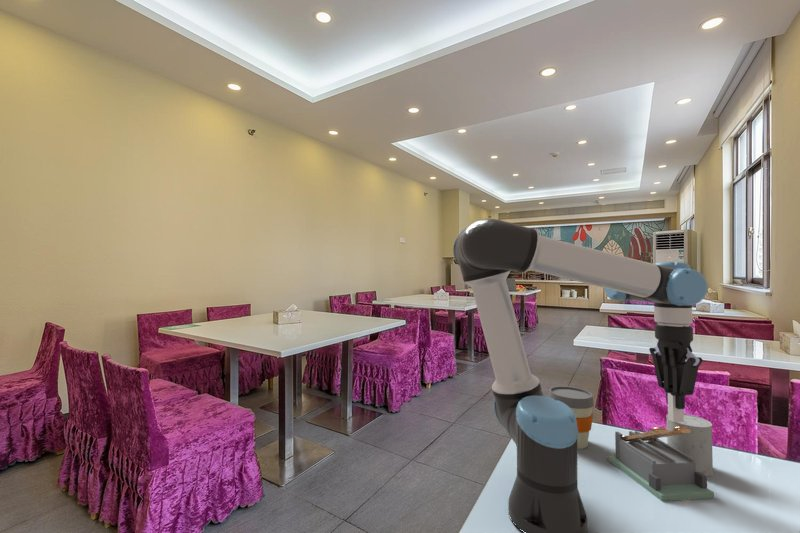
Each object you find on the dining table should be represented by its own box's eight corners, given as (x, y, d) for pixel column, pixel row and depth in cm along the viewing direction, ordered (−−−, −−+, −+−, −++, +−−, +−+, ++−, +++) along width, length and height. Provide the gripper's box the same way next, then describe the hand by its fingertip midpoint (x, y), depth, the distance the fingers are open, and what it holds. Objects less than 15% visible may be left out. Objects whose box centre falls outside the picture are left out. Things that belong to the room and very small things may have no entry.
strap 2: (681, 434, 83) (678, 426, 84) (639, 441, 96) (637, 434, 97) (692, 434, 83) (689, 426, 84) (649, 440, 96) (646, 434, 97)
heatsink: (661, 500, 79) (660, 463, 79) (607, 459, 97) (607, 429, 97) (714, 497, 80) (713, 461, 81) (651, 457, 98) (650, 428, 98)
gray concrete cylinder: (661, 454, 100) (660, 411, 100) (702, 460, 97) (701, 415, 97) (675, 472, 91) (674, 424, 91) (721, 479, 88) (720, 429, 88)
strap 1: (659, 435, 83) (656, 427, 83) (620, 441, 95) (618, 435, 96) (670, 434, 83) (667, 426, 84) (630, 441, 96) (627, 434, 96)
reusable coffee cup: (542, 432, 114) (541, 385, 115) (581, 432, 114) (580, 386, 114) (559, 451, 101) (559, 398, 102) (603, 452, 101) (602, 399, 102)
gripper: (712, 327, 81) (715, 431, 80) (665, 320, 94) (667, 410, 93) (682, 328, 81) (685, 432, 80) (639, 321, 94) (641, 411, 93)
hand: (675, 420), depth 87 cm, fingers closed
